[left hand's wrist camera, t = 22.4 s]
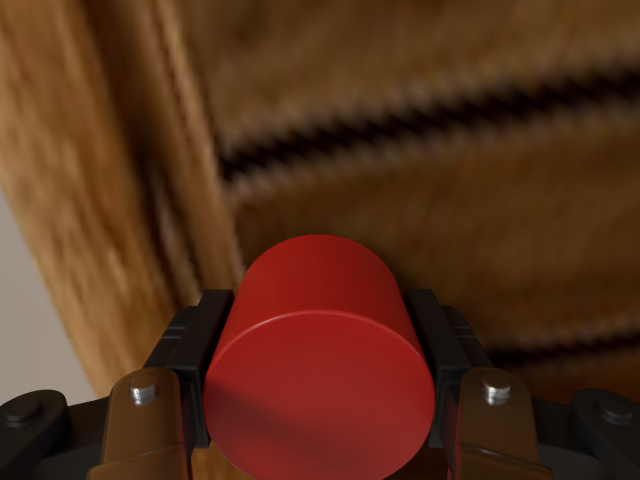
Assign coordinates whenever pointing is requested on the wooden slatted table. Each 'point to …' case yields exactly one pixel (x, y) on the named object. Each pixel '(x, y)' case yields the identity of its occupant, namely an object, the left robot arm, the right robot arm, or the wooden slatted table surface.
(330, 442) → the tin
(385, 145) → the wooden slatted table surface
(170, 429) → the left robot arm
